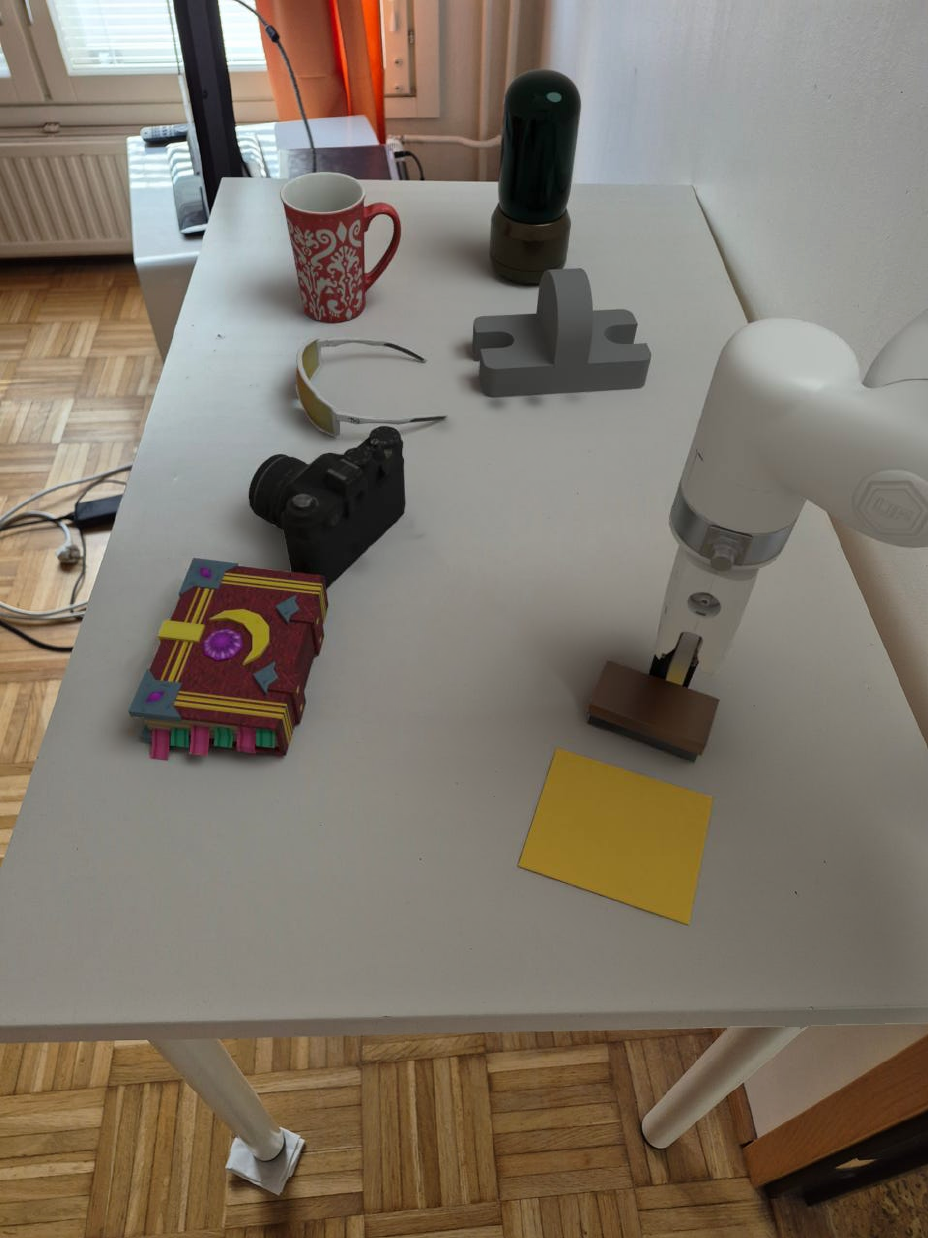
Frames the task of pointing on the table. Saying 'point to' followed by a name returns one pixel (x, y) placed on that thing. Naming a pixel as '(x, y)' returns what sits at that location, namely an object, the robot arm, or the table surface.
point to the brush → (652, 711)
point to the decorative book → (232, 660)
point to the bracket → (559, 344)
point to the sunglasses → (325, 412)
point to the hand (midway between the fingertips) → (668, 676)
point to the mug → (333, 242)
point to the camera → (333, 502)
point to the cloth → (619, 835)
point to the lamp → (535, 176)
